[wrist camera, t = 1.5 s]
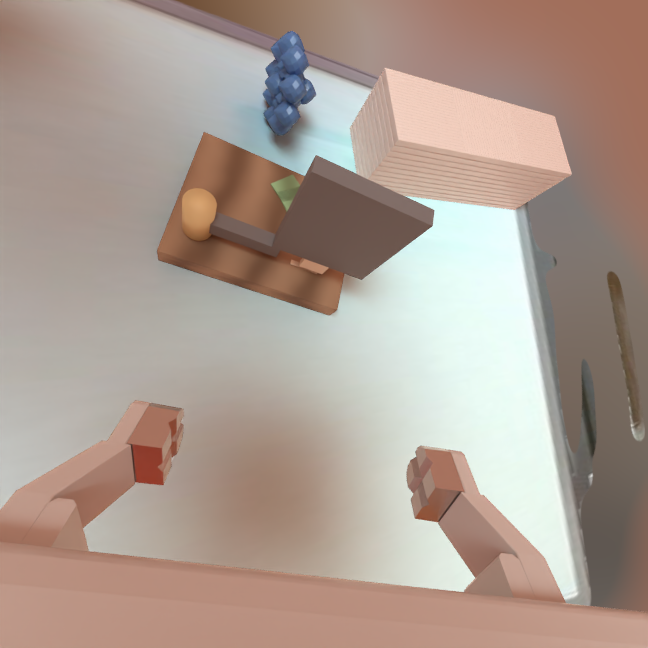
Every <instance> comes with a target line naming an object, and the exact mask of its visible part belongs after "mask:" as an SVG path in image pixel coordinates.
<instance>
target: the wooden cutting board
mask: <svg viewBox="0 0 648 648" xmlns="http://www.w3.org/2000/svg"><path fill="white" fill-rule="evenodd" d="M304 177H305V176H303V175H300V174H298V173H296V172H294V171H291V170H289V169H287V168H284V167H282V166H280V165H278V164H275V163H273V162H271V161H269V160H266V159H264V158H262V157H260V156H257V155H255V154H253V153H251V152H248V151H246V150H244V149H242V148H239V147H237V146H235V145H232V144H230V143H228V142H226V141H223V140H221V139H219V138H217V137H214V136H212V135H210V134H208V133H205V132H204V133H203V136H202V138H201V141H200V143H199V146H198V148H197V151H196V153H195V156H194V158H193V161H192V164H191V166H190V169H189V171H188V174H187V176H186V179H185V181H184V184H183V186H182V189H181V191H180V194H179V196H178V199H177V201H176V204H175V206H174V209H173V211H172V214H171V216H170V219H169V221H168V224H167V227H166V229H165V232H164V234H163V237H162V239H161V242H160V244H159V247H158V249H157V254H158V260H160V261H163V262H166V263H169V264H172V265H176V266H179V267H182V268H185V269H188V270H191V271H194V272H197V273H200V274H203V275H206V276H209V277H213V278H216V279H219V280H222V281H225V282H228V283H231V284H234V285H237V286H240V287H243V288H246V289H249V290H253V291H256V292H259V293H262V294H265V295H268V296H271V297H274V298H277V299H280V300H283V301H286V302H290V303H293V304H296V305H299V306H302V307H305V308H308V309H311V310H314V311H317V312H320V313H323V314H326V315H331V314H332V313H334V312H335V311H337V308H338V303H339V298H340V293H341V288H342V282H343V277H344V273H342V272H339V271H336V270H334V269H331V268H328V269H327V270H326V271H325V272H324V273H323V274H319V273H317V272H314V271H311V270H308V269H306V268H303V267H300V266H299V265H300V261H301V259H302V258H301V257H298V256H296V255H293V254H290V253H287V252H285V251H282V250H280V252H279V254H278V255H277V257H274V256H271V255H268V254H265V253H263V252H260V251H257V250H254V249H251V248H249V247H246V246H243V245H240V244H238V243H235V242H232V241H229V240H227V239H224V238H221V237H218V236H215V235H213V234H212V235H211V236H210V237H209V238H208V239H206V240H203V241H195V240H192V239H190V238H189V237H187V236H186V235H185V233H184V232H183V229H182V198H183V195H184V194H185V193H186V192H187V191H188V190H190V189H193V188H200V189H204V190H206V191H208V192H210V193H211V194H212V195H213V196H214V198H215V200H216V203H217V208H216V212H218V213H221V214H223V215H226V216H229V217H231V218H234V219H237V220H239V221H242V222H245V223H247V224H250V225H252V226H255V227H258V228H260V229H263V230H266V231H268V232H271V233H273V234H276V232H277V230H278V228H279V226H280V224H281V222H282V220H283V218H284V216H285V214H286V212H287V211H288V209H289V207H290V205H291V203H292V201H293V199H294V197H295V195H296V193H297V191H298V189H299V187H300V185H301V183H302V181H303V179H304Z"/></svg>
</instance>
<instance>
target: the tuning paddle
mask: <svg viewBox="0 0 648 648" xmlns="http://www.w3.org/2000/svg"><path fill="white" fill-rule="evenodd" d="M216 208H217V203H216V200H215V198H214V196H213V195H212V194H211V193H210V192H208V191H206V190H204V189H200V188H193V189H190V190H188V191H187V192H186V193H185V194H184V195H183V198H182V229H183V232H184V233H185V235H186V236H187V237H189V238H190V239H192V240H195V241H203V240H206V239H208V238H209V237H210V236H211V235H212V234H213V235H215V236H218V237H221V238H224V239H227V240H229V241H232V242H235V243H238V244H240V245H243V246H246V247H249V248H251V249H254V250H257V251H260V252H263V253H265V254H268V255H271V256H274V257H277V255H278V254H279V252H280V250H282V251H285V252H287V253H290V254H293V255H296V256H298V257H301V258H302V259H301V261H300V265H299V266H300V267H303V268H306V269H308V270H311V271H314V272H317V273H319V274H323V273H324V272H325V271H326V270H327V269H328V268H331V269H334V270H336V271H339V272H342V273H344V274H347V275H350V276H353V277H355V278H358V279H361V280H362V279H363V278H364V277H366V276H367V275H368V274H370V273H371V272H372V271H374V270H375V269H376V268H378V267H379V266H380V265H382V264H383V263H384V262H386V261H387V260H388V259H390V258H391V257H392V256H393V255H395V254H396V253H397V252H399V251H400V250H401V249H403V248H404V247H405V246H407V245H408V244H409V243H411V242H412V241H413V240H415V239H416V238H417V237H419V236H420V235H421V234H423V233H424V232H425V231H427V230H428V229H429V228H430V227H432V226H433V217H434V210H433V209H431V208H428V207H426V206H424V205H422V204H420V203H418V202H416V201H413V200H411V199H409V198H407V197H405V196H403V195H401V194H398V193H396V192H394V191H392V190H390V189H388V188H386V187H383V186H381V185H379V184H377V183H375V182H373V181H371V180H368V179H366V178H364V177H362V176H360V175H358V174H355V173H353V172H351V171H349V170H347V169H345V168H343V167H340V166H338V165H336V164H334V163H332V162H330V161H328V160H325V159H323V158H321V157H319V156H317V155H316V156H315V158H314V160H313V162H312V164H311V166H310V168H309V170H308V171H307V173H306V175H305V177H304V179H303V181H302V183H301V185H300V187H299V189H298V191H297V193H296V195H295V197H294V199H293V201H292V203H291V205H290V207H289V209H288V211H287V212H286V214H285V216H284V218H283V220H282V222H281V224H280V226H279V228H278V230H277V232H276V234H273V233H271V232H268V231H266V230H263V229H260V228H258V227H255V226H252V225H250V224H247V223H245V222H242V221H239V220H237V219H234V218H231V217H229V216H226V215H223V214H221V213H218V212H216Z"/></svg>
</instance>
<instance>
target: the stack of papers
mask: <svg viewBox="0 0 648 648" xmlns="http://www.w3.org/2000/svg"><path fill="white" fill-rule="evenodd" d="M374 87H375V88H373V89H372V91H371V94H369V96H368V99H366V101H365V103H364V105H363V106H362V108H361V110H360V111H359V113H358V115H357V117H356V118H355V120H354V122H353V123H352V125H351V127H350V133H351V140H352V146H353V153H354V159H355V166H356V172H357V174H358V175H360V176H362V177H364V178H366V179H368V180H371V181H373V182H375V183H377V184H379V185H381V186H383V187H386V188H388V189H390V190H392V191H394V192H396V193H398V194H401V195H403V196H410V197H418V198H426V199H433V200H441V201H449V202H457V203H465V204H472V205H480V206H488V207H496V208H503V209H511V210H515V209H517V207H520V206H522V204H525V203H526V202H527V201H529V200H531V199H532V198H535V197H536V196H537V195H539V194H541V193H542V192H544V191H546V190H547V188H551V187H552V186H553V185H555V184H557V183H559V181H562V180H563V179H565V177H566V178H567V177H568V176H570V175H571V170H570V167H569V163H568V160H567V157H566V153H565V150H564V146H563V143H562V140H561V136H560V133H559V129H558V126H557V123H556V119H555V116H552V115H549V114H545V113H541V112H538V111H535V110H531V109H528V108H524V107H521V106H517V105H513V104H510V103H506V102H503V101H499V100H496V99H493V98H489V97H486V96H482V95H479V94H475V93H472V92H468V91H465V90H461V89H458V88H454V87H451V86H447V85H444V84H441V83H437V82H434V81H430V80H427V79H423V78H420V77H416V76H413V75H409V74H406V73H402V72H398V71H395V70H392V69H388V68H385V69H384V70H383V72H382V75H380V77H379V79H378V82H376V84H375V86H374Z"/></svg>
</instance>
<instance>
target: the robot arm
mask: <svg viewBox="0 0 648 648" xmlns="http://www.w3.org/2000/svg"><path fill="white" fill-rule="evenodd" d="M183 417H184V409H182V408H176V407H171V406H165V405H160V404H154V403H148V402H142V401H137V400H135V401H134V402H133V403H132V404H131V405H130V406H129V408H128V409H127V411H126V412H125V414H124V416H123V417H122V419H121V420H120V422H119V423H118V425H117V426H116V428H115V429H114V431H113V433H112V434H111V436H110V437H109V439H108V440H107V441H100V442H99V443H97V444H95V445H94V446H92V447H90V448H89V449H87V450H85V451H83V452H82V453H80V454H78V455H77V456H75V457H73V458H71V459H70V460H68V461H66V462H65V463H63V464H61V465H59V466H58V467H56V468H54V469H53V470H51V471H49V472H47V473H46V474H44V475H42V476H41V477H39V478H37V479H36V480H34V481H32V482H30V483H29V484H27V485H25V486H24V487H22V488H20V489H18V490H17V491H16V492H15V493H14V494H13V495H12V497H11V498H10V499H9V500H8V502H7V503H6V504H5V505H4V507H3V508H2V509H1V510H0V648H648V612H640V611H630V610H621V609H613V608H604V607H595V606H585V605H576V604H567V603H566V602H565V600H564V598H563V596H562V594H561V592H560V589H559V587H558V585H557V583H556V581H555V579H554V577H553V575H552V573H551V570H550V568H549V566H548V564H547V562H546V560H545V558H544V557H543V556H542V554H541V553H540V552H539V551H538V550H537V549H536V548H535V547H534V546H533V545H532V544H531V543H530V542H529V541H528V540H527V539H526V538H525V537H524V536H523V535H522V534H521V533H520V532H519V531H518V530H517V529H516V528H515V527H514V526H513V525H512V524H511V523H510V522H509V521H508V520H507V519H506V517H505V516H504V515H503V514H502V513H501V512H500V511H499V510H498V509H497V508H496V507H495V506H494V505H493V504H492V503H491V502H490V501H489V500H488V499H487V498H486V497H485V496H484V495H480V493H479V491H478V488H477V486H476V483H475V481H474V478H473V476H472V473H471V471H470V468H469V465H468V463H467V460H466V458H465V455H464V454H463V453H462V452H460V451H453V450H447V449H441V448H434V447H427V446H419V447H418V448H417V450H416V452H415V453H416V457H415V458H413V459H412V460H411V461H410V463H409V465H408V468H407V484H408V488H409V489H410V490H411V491H412V492H413V496H412V498H411V503H412V508H413V512H414V517H415V519H421V520H427V521H434V522H439V523H438V524H439V526H440V527H441V529H442V530H443V531H444V533H445V534H446V536H447V537H448V539H449V540H450V542H451V543H452V545H453V546H454V548H455V549H456V550H457V552H458V553H459V555H460V556H461V558H462V559H463V561H464V562H465V564H466V565H467V566H468V568H469V569H470V571H471V572H472V574H473V575H474V577H475V579H474V580H473V581H472V582H471V583H470V584H469V585H468V586H467V587H466V589H465V590H464V592H456V591H447V590H438V589H429V588H420V587H411V586H401V585H392V584H383V583H374V582H365V581H356V580H347V579H338V578H329V577H320V576H311V575H301V574H292V573H283V572H274V571H265V570H255V569H246V568H237V567H228V566H219V565H209V564H200V563H191V562H182V561H173V560H164V559H154V558H145V557H136V556H127V555H118V554H108V553H99V552H90V551H88V550H89V549H88V546H87V542H86V538H85V534H84V531H83V528H84V527H85V526H86V525H87V524H88V523H90V522H91V521H92V520H93V519H94V518H95V517H97V516H98V515H99V514H100V513H101V512H103V511H104V510H105V509H106V508H107V507H108V506H110V505H111V504H112V503H113V502H114V501H116V500H117V499H118V498H119V497H120V496H121V495H123V494H124V493H125V492H126V491H127V490H129V489H130V488H131V487H132V486H133V485H134V484H135V482H138V483H147V484H157V485H164V483H165V480H166V478H167V476H168V474H169V471H170V469H171V467H172V457H173V456H175V455H176V454H177V452H178V450H179V447H180V444H181V441H182V437H183V431H184V425H183V424H182V423H181V421H182V419H183Z"/></svg>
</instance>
